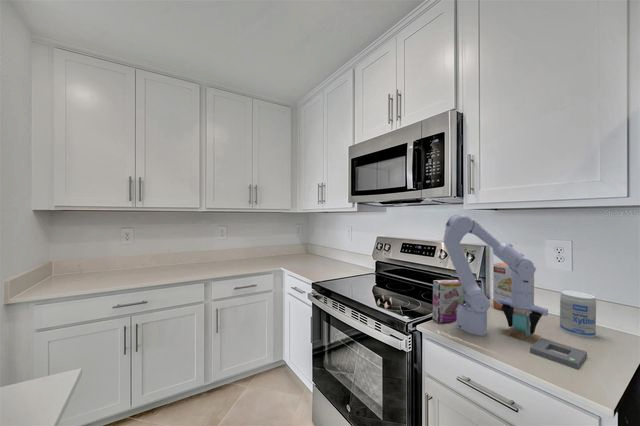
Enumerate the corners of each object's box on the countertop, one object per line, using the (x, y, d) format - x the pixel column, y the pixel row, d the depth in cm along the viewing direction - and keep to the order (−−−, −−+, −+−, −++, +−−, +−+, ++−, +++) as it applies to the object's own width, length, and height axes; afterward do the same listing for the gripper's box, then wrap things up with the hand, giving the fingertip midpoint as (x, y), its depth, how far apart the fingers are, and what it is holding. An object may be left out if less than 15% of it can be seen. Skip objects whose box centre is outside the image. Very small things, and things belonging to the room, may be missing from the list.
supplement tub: (576, 340, 93) (576, 298, 93) (552, 328, 103) (553, 290, 103) (604, 340, 93) (604, 298, 93) (578, 328, 103) (578, 290, 103)
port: (529, 355, 83) (529, 346, 83) (541, 345, 90) (541, 336, 90) (578, 372, 75) (578, 362, 75) (587, 359, 81) (587, 350, 81)
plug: (512, 334, 96) (512, 314, 96) (516, 331, 98) (516, 312, 98) (526, 338, 93) (526, 318, 93) (530, 335, 95) (530, 315, 95)
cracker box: (492, 308, 124) (492, 263, 124) (500, 306, 127) (500, 262, 126) (526, 319, 111) (526, 269, 111) (534, 317, 114) (534, 268, 114)
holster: (501, 336, 96) (501, 326, 96) (511, 329, 102) (511, 320, 102) (532, 346, 89) (532, 336, 89) (541, 338, 94) (541, 329, 94)
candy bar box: (438, 324, 107) (438, 283, 107) (432, 319, 112) (432, 279, 112) (464, 322, 108) (464, 282, 108) (456, 317, 113) (457, 279, 113)
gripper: (551, 294, 92) (550, 333, 92) (502, 285, 103) (502, 319, 104) (544, 298, 88) (544, 339, 88) (495, 288, 99) (494, 324, 99)
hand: (521, 329), depth 95 cm, fingers open, 6 cm apart
